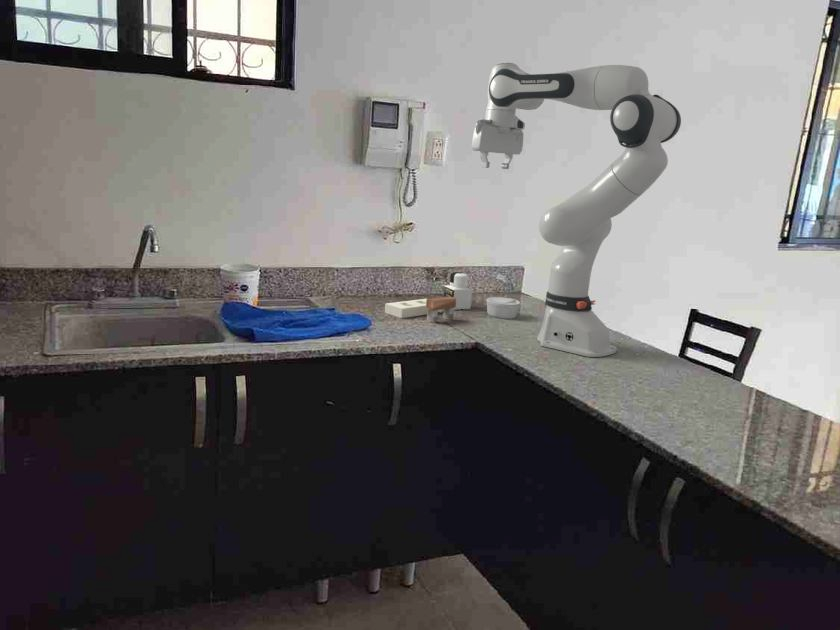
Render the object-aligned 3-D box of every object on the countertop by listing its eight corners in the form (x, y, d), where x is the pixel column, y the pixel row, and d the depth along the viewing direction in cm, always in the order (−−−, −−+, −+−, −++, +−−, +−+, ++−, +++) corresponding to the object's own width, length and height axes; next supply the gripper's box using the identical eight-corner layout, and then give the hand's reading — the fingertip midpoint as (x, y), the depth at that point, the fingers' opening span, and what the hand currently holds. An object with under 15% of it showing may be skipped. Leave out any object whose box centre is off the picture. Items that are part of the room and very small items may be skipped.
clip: (454, 319, 210) (456, 298, 208) (431, 323, 203) (433, 301, 201) (447, 317, 212) (449, 296, 210) (424, 321, 205) (426, 299, 204)
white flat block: (442, 312, 219) (442, 303, 218) (401, 318, 207) (401, 308, 206) (425, 307, 225) (426, 298, 224) (384, 312, 213) (385, 303, 212)
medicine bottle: (442, 305, 230) (445, 271, 227) (460, 304, 233) (463, 271, 230) (452, 310, 223) (455, 274, 221) (470, 309, 226) (473, 274, 224)
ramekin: (520, 321, 215) (522, 305, 214) (486, 318, 215) (487, 302, 214) (516, 313, 226) (518, 298, 224) (483, 311, 226) (485, 295, 225)
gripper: (485, 118, 190) (481, 167, 193) (528, 124, 204) (523, 170, 207) (468, 117, 194) (464, 166, 197) (512, 124, 208) (507, 169, 212)
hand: (495, 168), depth 202 cm, fingers open, 8 cm apart
